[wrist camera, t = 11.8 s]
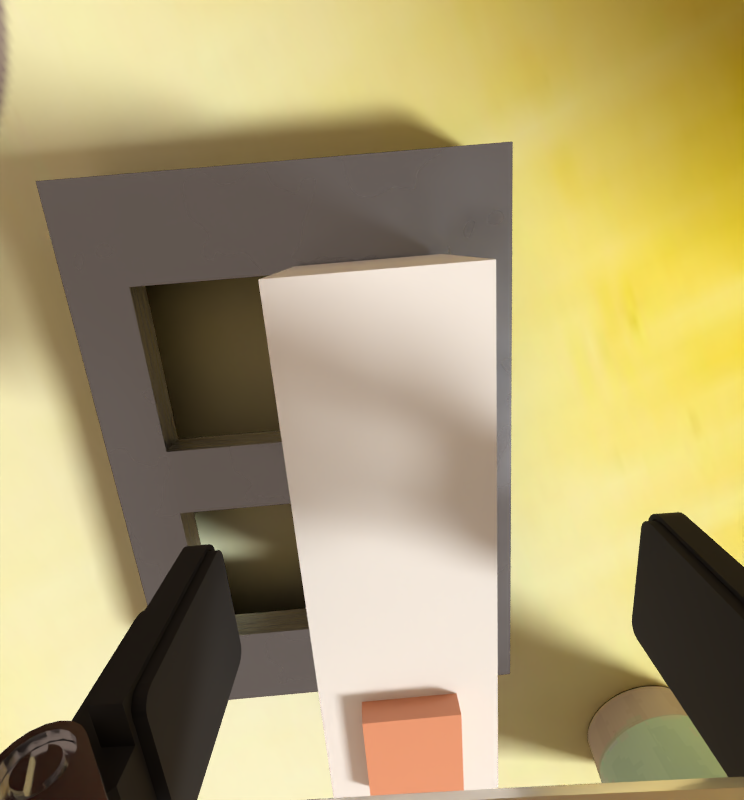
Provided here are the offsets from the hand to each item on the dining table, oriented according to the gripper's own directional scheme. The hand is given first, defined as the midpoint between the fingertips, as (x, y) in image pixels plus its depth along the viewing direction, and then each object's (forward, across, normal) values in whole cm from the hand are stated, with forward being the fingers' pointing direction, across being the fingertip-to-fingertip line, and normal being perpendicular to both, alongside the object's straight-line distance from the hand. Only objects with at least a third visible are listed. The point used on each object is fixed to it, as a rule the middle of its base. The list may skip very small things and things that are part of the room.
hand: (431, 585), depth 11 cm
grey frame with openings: (+10, +4, 0) cm, 11 cm away
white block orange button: (+10, +1, 0) cm, 10 cm away
